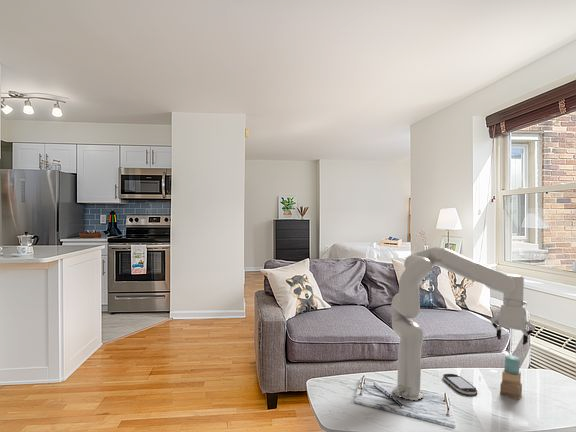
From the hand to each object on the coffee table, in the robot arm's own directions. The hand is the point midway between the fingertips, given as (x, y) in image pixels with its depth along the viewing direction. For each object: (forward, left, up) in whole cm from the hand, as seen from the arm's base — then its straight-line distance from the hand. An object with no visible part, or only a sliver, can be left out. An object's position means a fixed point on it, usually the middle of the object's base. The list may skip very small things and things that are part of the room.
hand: (511, 341), depth 165 cm
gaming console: (-6, +20, -24) cm, 32 cm away
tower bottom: (0, 0, -23) cm, 23 cm away
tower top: (0, 0, -18) cm, 18 cm away
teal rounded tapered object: (0, 0, -13) cm, 13 cm away
